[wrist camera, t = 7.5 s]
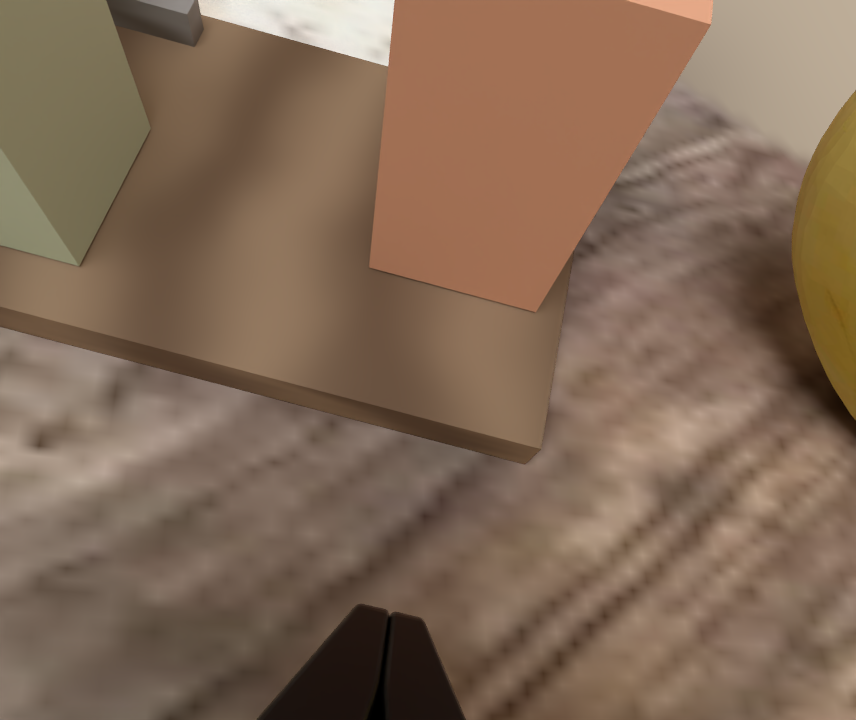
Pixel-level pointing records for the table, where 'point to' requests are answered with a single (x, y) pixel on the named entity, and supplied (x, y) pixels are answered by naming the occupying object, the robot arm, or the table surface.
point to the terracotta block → (515, 131)
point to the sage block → (63, 124)
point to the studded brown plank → (280, 250)
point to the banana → (830, 252)
